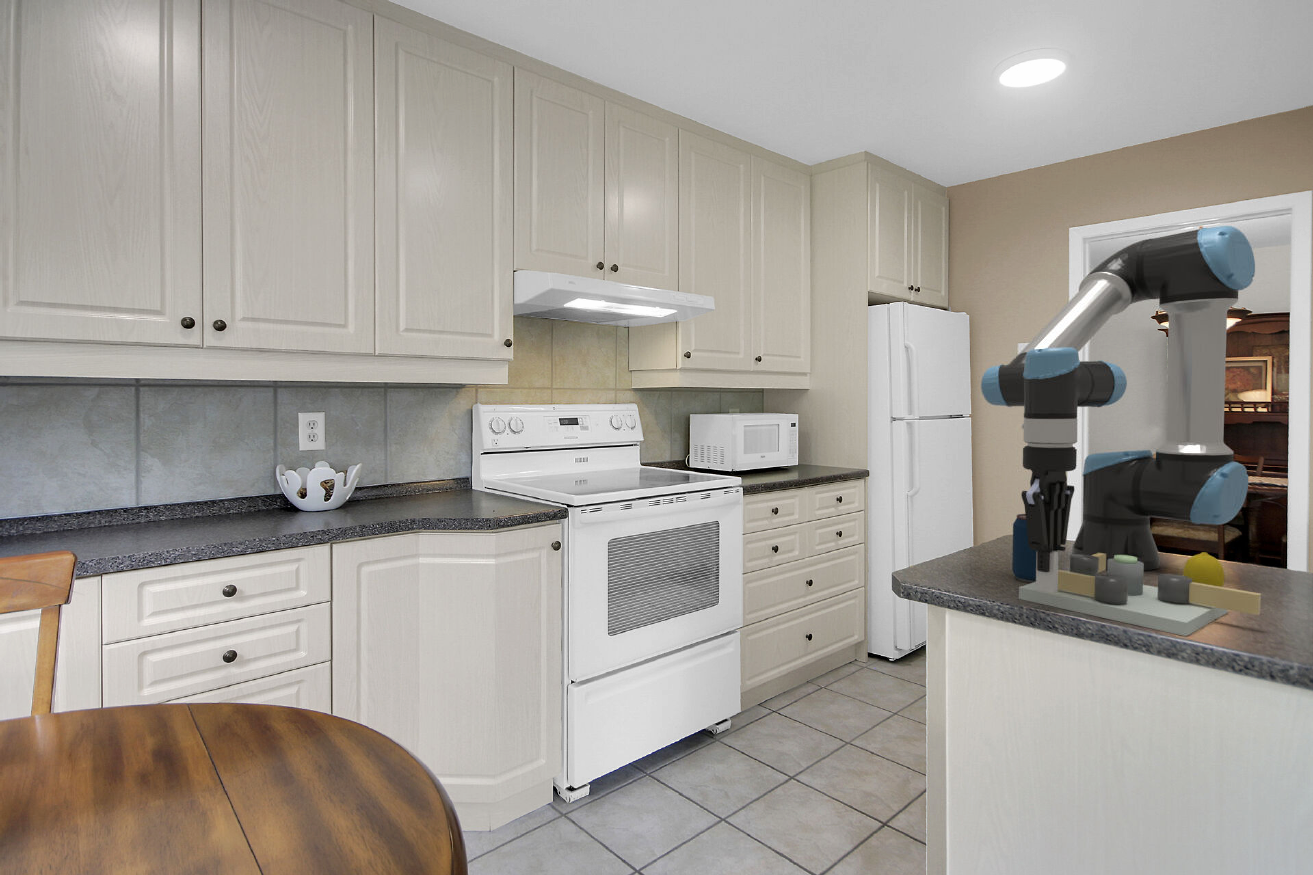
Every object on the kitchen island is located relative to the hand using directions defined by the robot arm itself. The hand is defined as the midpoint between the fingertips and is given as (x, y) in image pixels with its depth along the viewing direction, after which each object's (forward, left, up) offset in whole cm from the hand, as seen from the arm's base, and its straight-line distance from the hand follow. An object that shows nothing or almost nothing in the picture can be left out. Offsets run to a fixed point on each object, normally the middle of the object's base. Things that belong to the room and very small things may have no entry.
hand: (1046, 590), depth 114 cm
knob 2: (-14, +17, -1) cm, 22 cm away
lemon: (-27, +13, -4) cm, 30 cm away
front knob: (-6, +3, -1) cm, 7 cm away
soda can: (-18, -11, -4) cm, 22 cm away
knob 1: (-21, -2, -1) cm, 21 cm away
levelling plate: (-12, +6, -3) cm, 14 cm away
